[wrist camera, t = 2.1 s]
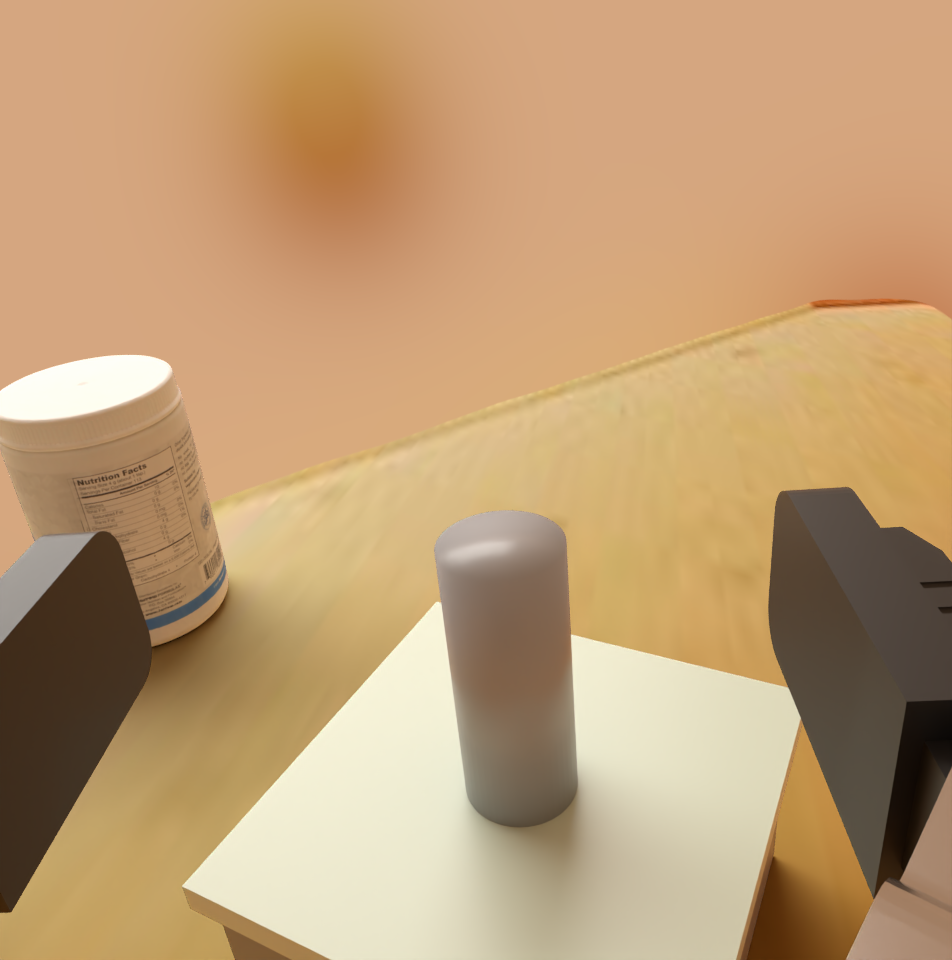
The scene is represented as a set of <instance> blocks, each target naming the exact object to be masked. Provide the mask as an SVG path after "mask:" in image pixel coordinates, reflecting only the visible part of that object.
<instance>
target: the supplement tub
mask: <svg viewBox="0 0 952 960" xmlns="http://www.w3.org/2000/svg"><path fill="white" fill-rule="evenodd" d="M0 451H1V454H2V456H3V459H4V462H5V464H6V467H7V470H8V472H9V475H10V478H11V480H12V483H13V485H14V488H15V491H16V494H17V496H18V498H19V501H20V504H21V507H22V509H23V512H24V514H25V517H26V520H27V522H28V525H29V528H30V530H31V533H32V535H33V538H34V541H36V540H37V539H39V538H40V537H41V536H43V535H47V534H62V533H78V532H94V531H107V532H109V533H111V534H112V535H113V536H114V537H115V538H116V539H117V541H118V542H119V544H120V546H121V549H122V552H123V555H124V558H125V561H126V564H127V567H128V570H129V573H130V576H131V579H132V582H133V585H134V588H135V591H136V594H137V597H138V600H139V603H140V606H141V609H142V612H143V615H144V618H145V621H146V624H147V627H148V630H149V633H150V638H151V647H153V646H156V645H160V644H163V643H166V642H169V641H171V640H174V639H176V638H178V637H180V636H183V635H184V634H186V633H188V632H190V631H192V630H193V629H195V628H197V627H198V626H199V625H201V624H202V623H204V622H205V621H206V620H207V619H208V618H209V617H210V616H211V615H212V614H213V613H214V612H215V611H216V610H217V609H218V608H219V606H220V605H221V603H222V601H223V600H224V598H225V595H226V593H227V589H228V574H227V570H226V566H225V561H224V557H223V553H222V549H221V545H220V541H219V537H218V533H217V529H216V526H215V522H214V518H213V514H212V510H211V506H210V502H209V498H208V494H207V490H206V486H205V482H204V478H203V474H202V470H201V466H200V463H199V459H198V455H197V451H196V447H195V443H194V439H193V435H192V432H191V428H190V424H189V420H188V417H187V413H186V409H185V405H184V401H183V398H182V396H181V391H180V389H179V387H178V386H177V384H176V381H175V377H174V374H173V370H172V368H171V367H170V365H169V364H167V363H166V362H165V361H163V360H160V359H157V358H153V357H149V356H140V355H116V356H105V357H97V358H90V359H85V360H80V361H75V362H70V363H66V364H62V365H58V366H55V367H51V368H48V369H45V370H42V371H39V372H36V373H34V374H31V375H29V376H26V377H24V378H22V379H20V380H18V381H16V382H14V383H12V384H10V385H9V386H7V387H5V388H4V389H2V390H1V391H0Z"/></svg>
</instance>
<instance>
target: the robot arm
mask: <svg viewBox="0 0 952 960" xmlns="http://www.w3.org/2000/svg"><path fill="white" fill-rule="evenodd" d="M768 609H769V626H770V633H771V639H772V644H773V648H774V652H775V655H776V658H777V660H778V663H779V665H780V668H781V670H782V673H783V675H784V678H785V680H786V683H787V685H788V688H789V690H790V693H791V695H792V698H793V700H794V703H795V705H796V708H797V710H798V713H799V715H800V717H801V720H802V722H803V725H804V727H805V730H806V732H807V735H808V737H809V740H810V742H811V745H812V747H813V750H814V752H815V755H816V757H817V760H818V762H819V765H820V767H821V770H822V772H823V775H824V777H825V779H826V782H827V784H828V787H829V789H830V792H831V794H832V797H833V799H834V802H835V804H836V807H837V809H838V812H839V814H840V817H841V819H842V822H843V824H844V827H845V829H846V832H847V834H848V836H849V839H850V841H851V844H852V846H853V849H854V851H855V854H856V856H857V859H858V861H859V864H860V866H861V869H862V871H863V874H864V876H865V879H866V881H867V884H868V886H869V889H870V891H871V893H872V896H873V898H874V901H873V903H872V905H871V907H870V909H869V911H868V914H867V916H866V918H865V920H864V922H863V924H862V926H861V928H860V931H859V933H858V935H857V937H856V939H855V941H854V943H853V945H852V947H851V950H850V952H849V954H848V956H847V958H846V960H952V562H951V561H950V560H949V559H948V557H947V556H946V555H945V554H944V553H943V551H942V550H940V549H938V548H937V547H935V546H933V545H932V544H930V543H928V542H927V541H925V540H923V539H922V538H920V537H918V536H917V535H915V534H913V533H912V532H910V531H909V530H907V529H905V528H904V527H892V528H880V527H879V525H878V524H877V523H876V521H875V520H874V518H873V517H872V516H871V514H870V513H869V511H868V510H867V509H866V507H865V506H864V504H863V503H862V502H861V500H860V499H859V498H858V496H857V495H856V493H855V492H854V491H853V490H852V489H851V488H849V487H841V488H824V489H808V490H791V491H782V492H780V494H779V495H778V498H777V501H776V506H775V516H774V530H773V545H772V559H771V574H770V588H769V605H768ZM151 655H152V647H151V638H150V633H149V630H148V627H147V624H146V621H145V618H144V615H143V612H142V609H141V606H140V603H139V600H138V597H137V594H136V591H135V588H134V585H133V582H132V579H131V576H130V573H129V570H128V567H127V564H126V561H125V558H124V555H123V552H122V549H121V546H120V544H119V542H118V541H117V539H116V538H115V537H114V536H113V535H112V534H111V533H109V532H107V531H94V532H78V533H62V534H47V535H43V536H41V537H40V538H39V539H37V540H36V541H35V542H34V543H33V545H31V546H30V548H29V549H28V550H27V551H26V552H25V553H24V554H23V555H22V556H21V557H20V558H19V559H18V560H17V561H16V562H15V563H14V564H13V565H12V566H11V567H10V568H9V569H8V570H7V571H6V572H5V574H4V575H3V576H2V577H1V578H0V913H8V912H12V910H13V908H14V907H15V905H16V903H17V901H18V900H19V898H20V896H21V895H22V893H23V891H24V889H25V888H26V886H27V884H28V883H29V881H30V879H31V877H32V876H33V874H34V872H35V871H36V869H37V867H38V865H39V864H40V862H41V860H42V859H43V857H44V855H45V853H46V852H47V850H48V848H49V847H50V845H51V843H52V842H53V840H54V838H55V836H56V835H57V833H58V831H59V830H60V828H61V826H62V824H63V823H64V821H65V819H66V818H67V816H68V814H69V812H70V811H71V809H72V807H73V806H74V804H75V802H76V800H77V799H78V797H79V795H80V794H81V792H82V790H83V788H84V787H85V785H86V783H87V782H88V780H89V778H90V776H91V775H92V773H93V771H94V770H95V768H96V766H97V764H98V763H99V761H100V759H101V758H102V756H103V754H104V752H105V751H106V749H107V747H108V746H109V744H110V742H111V740H112V739H113V737H114V735H115V734H116V732H117V730H118V728H119V727H120V725H121V723H122V722H123V720H124V718H125V716H126V715H127V713H128V711H129V710H130V708H131V706H132V704H133V703H134V701H135V699H136V698H137V696H138V694H139V692H140V691H141V689H142V687H143V686H144V684H145V682H146V679H147V677H148V674H149V670H150V665H151Z"/></svg>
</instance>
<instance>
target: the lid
mask: <svg viewBox="0 0 952 960" xmlns="http://www.w3.org/2000/svg"><path fill="white" fill-rule="evenodd" d="M434 552H435V560H436V567H437V575H438V582H439V590H440V597H441V603H440V602H436V603H435V604H434V605H433V607H432V608H431V609H430V610H429V611H428V612H427V613H426V614H425V615H424V617H423V618H422V619H421V620H420V621H419V622H418V623H417V624H416V626H415V627H414V628H413V629H412V630H411V631H410V632H409V633H408V634H407V636H406V637H405V638H404V639H403V640H402V641H401V642H400V643H399V644H398V646H397V647H396V648H395V649H394V650H393V651H392V652H391V653H390V655H389V656H388V657H387V658H386V659H385V660H384V661H383V662H382V663H381V665H380V666H379V667H378V668H377V669H376V670H375V671H374V672H373V674H372V675H371V676H370V677H369V678H368V679H367V680H366V681H365V682H364V684H363V685H362V686H361V687H360V688H359V689H358V690H357V691H356V693H355V694H354V695H353V696H352V697H351V698H350V699H349V700H348V701H347V703H346V704H345V705H344V706H343V707H342V708H341V709H340V710H339V711H338V713H337V714H336V715H335V716H334V717H333V718H332V719H331V720H330V722H329V723H328V724H327V725H326V726H325V727H324V728H323V729H322V730H321V732H320V733H319V734H318V735H317V736H316V737H315V738H314V739H313V741H312V742H311V743H310V744H309V745H308V746H307V747H306V748H305V749H304V751H303V752H302V753H301V754H300V755H299V756H298V757H297V758H296V760H295V761H294V762H293V763H292V764H291V765H290V766H289V767H288V768H287V770H286V771H285V772H284V773H283V774H282V775H281V776H280V777H279V778H278V780H277V781H276V782H275V783H274V784H273V785H272V786H271V787H270V789H269V790H268V791H267V792H266V793H265V794H264V795H263V796H262V797H261V799H260V800H259V801H258V802H257V803H256V804H255V805H254V806H253V808H252V809H251V810H250V811H249V812H248V813H247V814H246V815H245V816H244V818H243V819H242V820H241V821H240V822H239V823H238V824H237V825H236V827H235V828H234V829H233V830H232V831H231V832H230V833H229V834H228V835H227V837H226V838H225V839H224V840H223V841H222V842H221V843H220V844H219V846H218V847H217V848H216V849H215V850H214V851H213V852H212V853H211V854H210V856H209V857H208V858H207V859H206V860H205V861H204V862H203V863H202V864H201V866H200V867H199V868H198V869H197V870H196V871H195V872H194V873H193V875H192V876H191V877H190V878H189V879H188V880H187V881H186V882H185V883H184V885H183V886H182V888H183V890H184V893H185V896H186V898H187V901H188V904H189V906H190V909H192V910H194V911H196V912H198V913H200V914H202V915H204V916H206V917H208V918H210V919H212V920H214V921H216V922H218V923H220V924H222V925H224V926H226V927H228V928H230V929H232V930H234V931H236V932H238V933H240V934H242V935H244V936H246V937H248V938H250V939H252V940H254V941H256V942H258V943H260V944H262V945H264V946H266V947H268V948H270V949H271V950H273V951H275V952H277V953H279V954H281V955H283V956H285V957H287V958H289V959H291V960H740V959H741V955H742V952H743V948H744V944H745V940H746V936H747V933H748V929H749V925H750V921H751V918H752V914H753V910H754V906H755V902H756V899H757V895H758V891H759V887H760V883H761V880H762V876H763V872H764V868H765V864H766V861H767V857H768V853H769V849H770V845H771V842H772V838H773V834H774V830H775V827H776V823H777V819H778V815H779V811H780V808H781V804H782V800H783V796H784V792H785V789H786V785H787V781H788V777H789V773H790V770H791V766H792V762H793V758H794V754H795V751H796V747H797V743H798V739H799V736H800V732H801V728H802V724H803V722H802V720H801V717H800V715H799V713H798V710H797V708H796V705H795V703H794V700H793V698H792V695H791V693H790V690H789V688H787V687H783V686H779V685H775V684H771V683H767V682H763V681H758V680H754V679H750V678H746V677H742V676H738V675H734V674H730V673H726V672H722V671H718V670H714V669H709V668H705V667H701V666H697V665H693V664H689V663H685V662H681V661H677V660H673V659H669V658H665V657H661V656H656V655H652V654H648V653H644V652H640V651H636V650H632V649H628V648H624V647H620V646H616V645H612V644H607V643H603V642H599V641H595V640H591V639H587V638H583V637H579V636H575V635H571V627H570V606H569V585H568V565H567V544H566V536H565V534H564V532H563V530H562V529H561V528H560V527H559V526H558V525H557V524H556V523H554V522H553V521H551V520H550V519H548V518H546V517H543V516H540V515H537V514H534V513H529V512H523V511H492V512H486V513H481V514H477V515H473V516H470V517H468V518H465V519H463V520H460V521H458V522H456V523H455V524H453V525H451V526H450V527H448V528H447V529H446V530H445V531H444V532H443V533H442V534H441V535H440V536H439V538H438V539H437V541H436V544H435V549H434Z"/></svg>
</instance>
